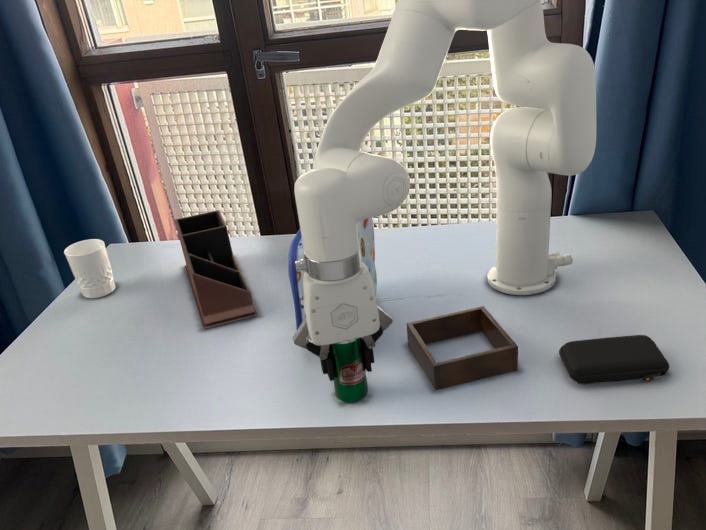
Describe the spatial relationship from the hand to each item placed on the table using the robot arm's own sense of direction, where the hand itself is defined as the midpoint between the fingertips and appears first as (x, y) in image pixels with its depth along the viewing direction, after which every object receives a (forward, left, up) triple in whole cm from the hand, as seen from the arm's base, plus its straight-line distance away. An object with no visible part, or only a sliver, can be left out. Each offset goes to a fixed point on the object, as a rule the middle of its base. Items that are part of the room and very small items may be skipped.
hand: (348, 370), depth 105 cm
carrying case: (-39, +9, -5) cm, 40 cm away
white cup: (+41, -56, -5) cm, 70 cm away
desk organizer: (+17, -45, -5) cm, 48 cm away
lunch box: (-4, -23, -5) cm, 24 cm away
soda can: (0, 0, -5) cm, 5 cm away
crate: (-19, -3, -5) cm, 20 cm away
